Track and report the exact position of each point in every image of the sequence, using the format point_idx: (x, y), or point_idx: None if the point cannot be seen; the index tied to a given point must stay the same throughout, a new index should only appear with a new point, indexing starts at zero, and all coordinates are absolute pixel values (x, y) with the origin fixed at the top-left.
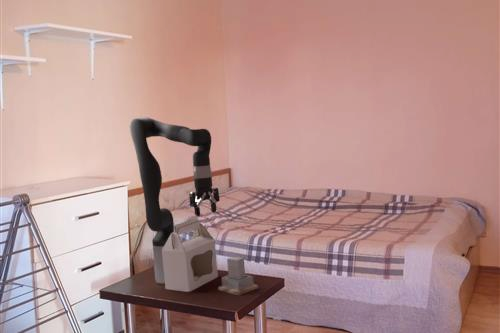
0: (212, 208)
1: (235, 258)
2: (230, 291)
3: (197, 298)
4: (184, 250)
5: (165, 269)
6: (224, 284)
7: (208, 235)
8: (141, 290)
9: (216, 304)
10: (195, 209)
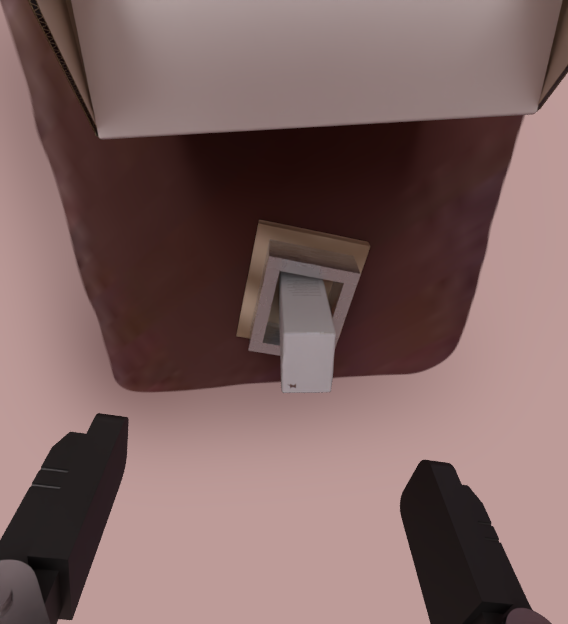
0: (433, 530)
1: (304, 367)
2: (244, 294)
3: (132, 203)
4: (106, 113)
5: None
6: (266, 258)
7: (564, 45)
8: None
9: (128, 310)
10: (24, 534)
